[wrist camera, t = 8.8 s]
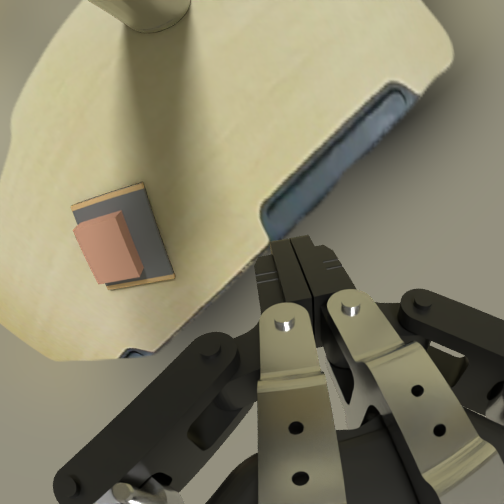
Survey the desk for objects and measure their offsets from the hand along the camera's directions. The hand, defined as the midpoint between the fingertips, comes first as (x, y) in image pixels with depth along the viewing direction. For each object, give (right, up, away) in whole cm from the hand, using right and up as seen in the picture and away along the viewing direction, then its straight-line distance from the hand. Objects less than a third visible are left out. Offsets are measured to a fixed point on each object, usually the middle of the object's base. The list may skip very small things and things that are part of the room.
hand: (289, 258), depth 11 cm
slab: (-19, +1, +27) cm, 33 cm away
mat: (-22, +2, +28) cm, 36 cm away
